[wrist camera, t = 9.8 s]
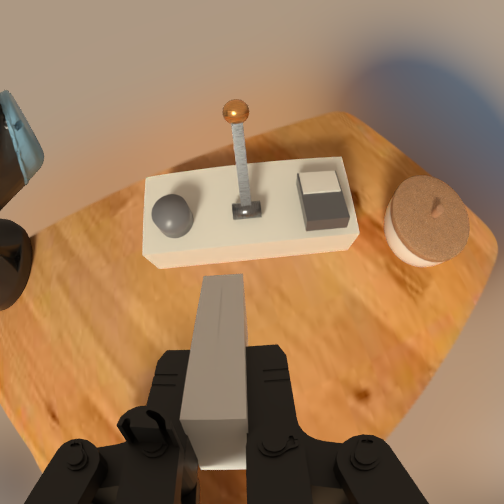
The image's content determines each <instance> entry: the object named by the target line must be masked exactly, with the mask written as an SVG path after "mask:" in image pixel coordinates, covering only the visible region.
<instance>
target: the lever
mask: <svg viewBox="0 0 504 504" xmlns="http://www.w3.org/2000/svg"><path fill="white" fill-rule="evenodd" d="M248 115H249V108H248V106H247V104H246V103H245V102H244V101H242V100H239V99H234V100H231V101H229V102H227V103H226V104H225V106H224V107H223V116H224V118H225V120H226V121H227V122H229V123H230V124H231V125H232V134H233V143H234V151H235V160H236V168H237V177H238V185H239V194H240V202H241V203H232V214H233V220H240V219H250V218H260V217H262V213H261V203H260V201H251V195H250V185H249V176H248V167H247V157H246V148H245V139H244V130H243V122H244V121H246V119H247V118H248Z"/></svg>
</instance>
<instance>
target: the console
mask: <svg viewBox="0 0 504 504" xmlns="http://www.w3.org/2000/svg"><path fill="white" fill-rule="evenodd" d="M247 167H248V176H249V185H250V195H251V201H260V203H261V213H262V217H260V218H250V219H240V220H233V214H232V203H241V202H240V194H239V185H238V177H237V168H236V165H231V166H222V167H214V168H206V169H198V170H191V171H184V172H177V173H170V174H164V175H158V176H152V177H146V182H145V198H144V219H143V256H144V257H145V258H147V259H148V260H149V261H150V262H151V263H153V264H154V265H155V266H156V267H158V268H159V269H163V268H173V267H184V266H194V265H204V264H214V263H224V262H235V261H245V260H255V259H265V258H274V257H284V256H294V255H304V254H313V253H323V252H333V251H342V250H348V249H349V247H350V246H351V245H352V243H353V242H354V240H355V239H356V238H357V236H358V235H359V233H360V232H359V227H358V223H357V218H356V213H355V209H354V205H353V200H352V196H351V192H350V188H349V184H348V179H347V175H346V172H345V168H344V164H343V160H342V157H325V158H309V159H294V160H282V161H270V162H259V163H249V164H247ZM321 171H336V173H337V176H338V179H339V183H340V186H341V189H342V192H343V195H344V199H345V202H346V205H347V209H348V212H349V215H350V219H349V223H348V226H347V228H336V229H325V230H314V231H306V229H305V224H304V219H303V214H302V209H301V204H300V200H299V195H298V190H297V186H296V179H297V173H306V172H321ZM168 194H176V195H179V196H181V197H182V198H184V200H185V201H186V203H187V205H188V206H189V208H190V210H191V212H192V214H193V219H194V220H193V225H192V228H191V229H190V231H189V232H188V233H187V234H186V235H184V236H182V237H179V238H169V237H167V236H165V235H164V234H163V233H162V232H161V231H160V229H159V228H158V227H157V226H156V225H155V223H154V222H153V220H152V216H151V212H152V208H153V206H154V204H155V203H156V201H157V200H158V199H160V198H161V197H163V196H165V195H168Z"/></svg>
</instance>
